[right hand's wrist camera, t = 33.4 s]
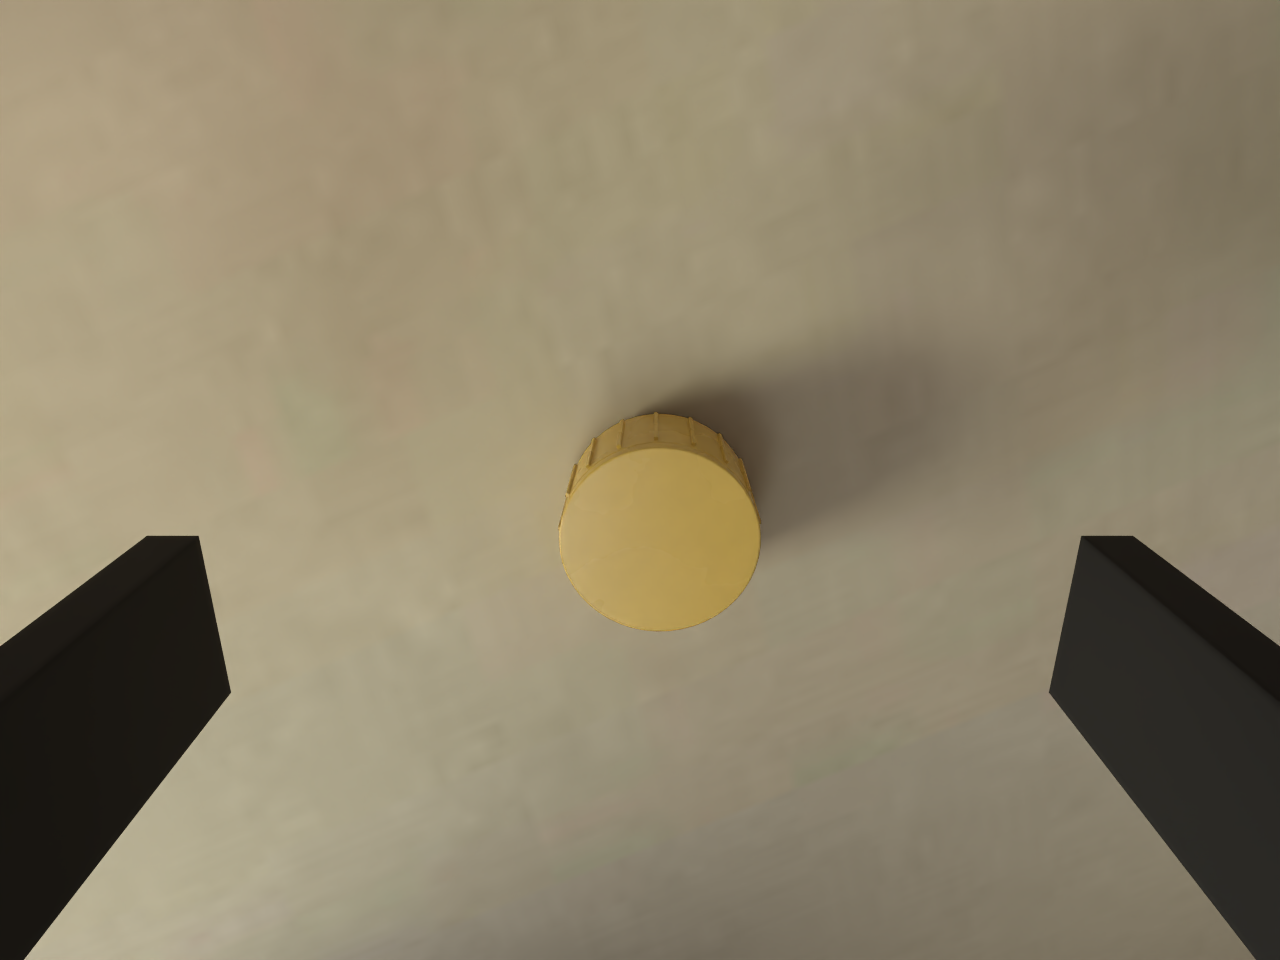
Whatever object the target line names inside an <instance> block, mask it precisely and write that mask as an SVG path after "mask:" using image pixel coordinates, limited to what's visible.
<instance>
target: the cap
mask: <svg viewBox="0 0 1280 960" xmlns="http://www.w3.org/2000/svg"><path fill="white" fill-rule="evenodd" d="M565 497H566V501H565V505H564V508H563V512H562V516H561V519H560V523H559V527H558V530H560V533H559V545H560V554H561V558H562V563H563V566H564V568H565V571H566V574H567V576H568V578H569V579H570V581H571V583H572V585H573V586H574V588H575V589H576V590H577V592H578V593H579V595H580V596H581V597H582V598H583V599H584V600H585V601H586V602H587V603H588V604H589V605H590V606H591V607H593V608H594V609H595V610H596V611H598V612H599V613H601V614H602V615H604V616H605V617H607V618H609V619H611V620H613V621H615V622H617V623H619V624H622V625H625V626H628V627H631V628H636V629H641V630H648V631H672V630H679V629H684V628H688V627H692V626H695V625H697V624H700V623H703V622H705V621H707V620H709V619H711V618H713V617H714V616H716V615H718V614H719V613H721V612H722V611H723V610H725V609H726V608H727V607H728V606H729V605H731V604H732V603H733V602H734V601H735V600H736V599H737V598H738V596H739V595H740V594H741V593H742V592H743V591H744V589H745V587H746V586H747V584H748V583H749V581H750V579H751V577H752V575H753V573H754V571H755V568H756V565H757V562H758V558H759V553H760V546H761V532H760V525H759V524H761V519H760V516H759V513H758V510H757V507H756V503H755V500H754V497H753V494H752V490H751V487H750V483H749V480H748V477H747V474H746V470H745V467H744V464H743V461H742V459H741V458H740V459H738V457H737V456H736V454H735V453H734V451H733V450H732V448H731V447H730V446H729V445H728V444H727V442H726V441H725V440H724V439H723V437H722V435H721V434H720V433H718V434H717V433H715V432H714V431H713V430H711V429H710V428H708V427H707V426H705V425H703V424H701V423H699V422H697V421H694V420H693V419H692V418H691V417H688V418H686V417H681V416H677V415H669V414H658V412H654V414H649V415H642V416H637V417H634V418H630V419H627V420H625V421H624V419H622V420H620V423H618V424H616V425H614V426H612V427H611V428H609V429H607V430H606V431H605V432H603V433H602V434H601V435H600V436H598V437H597V438H595V437H594V438H593V439H592V441H591V444H590V445H589V447H588V448H587V449H586V451H585V452H584V454H583V455H582V457H581V459H580V460H579V462H578V464H575V465H574V467H573V470H572V474H571V478H570V481H569V485H568V488H567V492H566V495H565Z"/></svg>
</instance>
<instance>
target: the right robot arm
mask: <svg viewBox="0 0 1280 960" xmlns="http://www.w3.org/2000/svg"><path fill="white" fill-rule="evenodd" d="M230 693H231V690H230V685H229V681H228V676H227V671H226V666H225V661H224V656H223V652H222V647H221V642H220V637H219V632H218V627H217V623H216V618H215V613H214V608H213V603H212V598H211V594H210V589H209V584H208V579H207V574H206V569H205V565H204V560H203V555H202V550H201V545H200V540H199V536H146V537H145V538H144V539H142V540H141V541H140V542H138V543H137V544H136V545H134V546H133V547H132V548H130V549H129V550H128V551H126V552H125V553H124V554H122V555H121V556H120V557H118V558H117V559H116V560H114V561H113V562H112V563H110V564H109V565H108V566H106V567H105V568H104V569H102V570H101V571H100V572H98V573H97V574H96V575H94V576H93V577H92V578H90V579H89V580H88V581H86V582H85V583H84V584H83V585H81V586H80V587H79V588H77V589H76V590H75V591H73V592H72V593H71V594H69V595H68V596H67V597H65V598H64V599H63V600H61V601H60V602H59V603H57V604H56V605H55V606H53V607H52V608H51V609H49V610H48V611H47V612H45V613H44V614H43V615H41V616H40V617H39V618H37V619H36V620H35V621H33V622H32V623H31V624H29V625H28V626H27V627H25V628H24V629H23V630H21V631H20V632H19V633H17V634H16V635H15V636H13V637H12V638H11V639H9V640H8V641H7V642H5V643H4V644H3V645H1V646H0V960H24V959H25V958H26V956H27V955H28V954H29V952H30V951H31V950H32V948H33V947H34V946H35V945H36V943H37V942H38V941H39V939H40V938H41V937H42V936H43V934H44V933H45V932H46V930H47V929H48V928H49V927H50V925H51V924H52V923H53V921H54V920H55V919H56V918H57V916H58V915H59V914H60V912H61V911H62V910H63V909H64V907H65V906H66V905H67V903H68V902H69V901H70V899H71V898H72V897H73V896H74V894H75V893H76V892H77V890H78V889H79V888H80V887H81V885H82V884H83V883H84V881H85V880H86V879H87V878H88V876H89V875H90V874H91V872H92V871H93V870H94V869H95V867H96V866H97V865H98V863H99V862H100V861H101V859H102V858H103V857H104V856H105V854H106V853H107V852H108V850H109V849H110V848H111V847H112V845H113V844H114V843H115V841H116V840H117V839H118V838H119V836H120V835H121V834H122V832H123V831H124V830H125V829H126V827H127V826H128V825H129V823H130V822H131V821H132V820H133V818H134V817H135V816H136V814H137V813H138V812H139V810H140V809H141V808H142V807H143V805H144V804H145V803H146V801H147V800H148V799H149V798H150V796H151V795H152V794H153V792H154V791H155V790H156V789H157V787H158V786H159V785H160V783H161V782H162V781H163V780H164V778H165V777H166V776H167V774H168V773H169V772H170V770H171V769H172V768H173V767H174V765H175V764H176V763H177V761H178V760H179V759H180V758H181V756H182V755H183V754H184V752H185V751H186V750H187V749H188V747H189V746H190V745H191V743H192V742H193V741H194V740H195V738H196V737H197V736H198V734H199V733H200V732H201V731H202V729H203V728H204V727H205V725H206V724H207V723H208V721H209V720H210V719H211V718H212V716H213V715H214V714H215V712H216V711H217V710H218V709H219V707H220V706H221V705H222V703H223V702H224V701H225V700H226V698H227V697H228V696H229V694H230ZM1049 693H1050V694H1051V696H1052V697H1053V698H1054V700H1055V701H1056V702H1057V703H1058V705H1059V706H1060V707H1061V709H1062V710H1063V711H1064V712H1065V714H1066V715H1067V716H1068V718H1069V719H1070V720H1071V721H1072V723H1073V724H1074V725H1075V727H1076V728H1077V729H1078V731H1079V732H1080V733H1081V734H1082V736H1083V737H1084V738H1085V740H1086V741H1087V742H1088V743H1089V745H1090V746H1091V747H1092V749H1093V750H1094V751H1095V752H1096V754H1097V755H1098V756H1099V758H1100V759H1101V760H1102V761H1103V763H1104V764H1105V765H1106V767H1107V768H1108V769H1109V770H1110V772H1111V773H1112V774H1113V776H1114V777H1115V778H1116V780H1117V781H1118V782H1119V783H1120V785H1121V786H1122V787H1123V789H1124V790H1125V791H1126V792H1127V794H1128V795H1129V796H1130V798H1131V799H1132V800H1133V801H1134V803H1135V804H1136V805H1137V807H1138V808H1139V809H1140V810H1141V812H1142V813H1143V814H1144V816H1145V817H1146V818H1147V820H1148V821H1149V822H1150V823H1151V825H1152V826H1153V827H1154V829H1155V830H1156V831H1157V832H1158V834H1159V835H1160V836H1161V838H1162V839H1163V840H1164V841H1165V843H1166V844H1167V845H1168V847H1169V848H1170V849H1171V850H1172V852H1173V853H1174V854H1175V856H1176V857H1177V858H1178V859H1179V861H1180V862H1181V863H1182V865H1183V866H1184V867H1185V869H1186V870H1187V871H1188V872H1189V874H1190V875H1191V876H1192V878H1193V879H1194V880H1195V881H1196V883H1197V884H1198V885H1199V887H1200V888H1201V889H1202V890H1203V892H1204V893H1205V894H1206V896H1207V897H1208V898H1209V899H1210V901H1211V902H1212V903H1213V905H1214V906H1215V907H1216V909H1217V910H1218V911H1219V912H1220V914H1221V915H1222V916H1223V918H1224V919H1225V920H1226V921H1227V923H1228V924H1229V925H1230V927H1231V928H1232V929H1233V930H1234V932H1235V933H1236V934H1237V936H1238V937H1239V938H1240V939H1241V941H1242V942H1243V943H1244V945H1245V946H1246V947H1247V949H1248V950H1249V951H1250V952H1251V954H1252V955H1253V956H1254V958H1255V959H1256V960H1280V646H1279V645H1277V644H1276V643H1275V642H1273V641H1272V640H1271V639H1269V638H1268V637H1267V636H1265V635H1264V634H1263V633H1261V632H1260V631H1259V630H1257V629H1256V628H1255V627H1253V626H1252V625H1251V624H1249V623H1248V622H1247V621H1245V620H1244V619H1243V618H1241V617H1240V616H1239V615H1237V614H1236V613H1235V612H1233V611H1232V610H1231V609H1229V608H1228V607H1227V606H1225V605H1224V604H1223V603H1221V602H1220V601H1219V600H1217V599H1216V598H1215V597H1213V596H1212V595H1211V594H1209V593H1208V592H1207V591H1205V590H1204V589H1203V588H1201V587H1200V586H1199V585H1197V584H1196V583H1195V582H1194V581H1192V580H1191V579H1190V578H1188V577H1187V576H1186V575H1184V574H1183V573H1182V572H1180V571H1179V570H1178V569H1176V568H1175V567H1174V566H1172V565H1171V564H1170V563H1168V562H1167V561H1166V560H1164V559H1163V558H1162V557H1160V556H1159V555H1158V554H1156V553H1155V552H1154V551H1152V550H1151V549H1150V548H1148V547H1147V546H1146V545H1144V544H1143V543H1142V542H1140V541H1139V540H1138V539H1136V538H1135V537H1134V536H1081V540H1080V545H1079V550H1078V555H1077V560H1076V565H1075V569H1074V574H1073V579H1072V584H1071V589H1070V594H1069V598H1068V603H1067V608H1066V613H1065V618H1064V623H1063V627H1062V632H1061V637H1060V642H1059V647H1058V652H1057V656H1056V661H1055V666H1054V671H1053V676H1052V681H1051V685H1050V690H1049Z"/></svg>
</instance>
